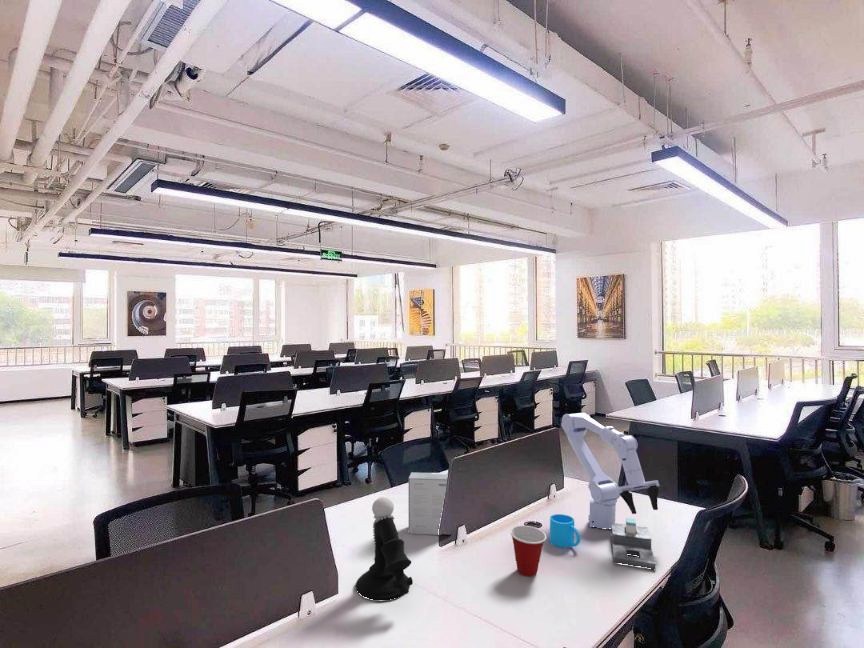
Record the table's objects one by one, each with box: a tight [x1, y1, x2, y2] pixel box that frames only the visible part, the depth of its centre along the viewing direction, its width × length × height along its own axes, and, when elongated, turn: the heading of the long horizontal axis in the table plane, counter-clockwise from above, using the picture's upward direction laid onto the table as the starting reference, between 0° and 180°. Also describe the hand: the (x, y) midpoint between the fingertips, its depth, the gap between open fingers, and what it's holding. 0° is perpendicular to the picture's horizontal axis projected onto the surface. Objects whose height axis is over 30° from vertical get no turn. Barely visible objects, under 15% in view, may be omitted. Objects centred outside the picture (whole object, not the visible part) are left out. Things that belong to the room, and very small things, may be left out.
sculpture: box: [355, 497, 413, 601], centre depth 137 cm, size 15×24×25 cm, turn 27°
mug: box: [549, 513, 581, 548], centre depth 169 cm, size 12×8×8 cm
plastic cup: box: [510, 525, 547, 577], centre depth 150 cm, size 11×11×12 cm
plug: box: [625, 517, 637, 534], centre depth 170 cm, size 3×4×6 cm
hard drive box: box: [408, 471, 448, 536], centre depth 179 cm, size 16×8×20 cm, turn 84°
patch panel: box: [610, 522, 657, 570], centre depth 164 cm, size 12×22×4 cm, turn 162°
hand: (645, 511), depth 169 cm, fingers open, 7 cm apart
